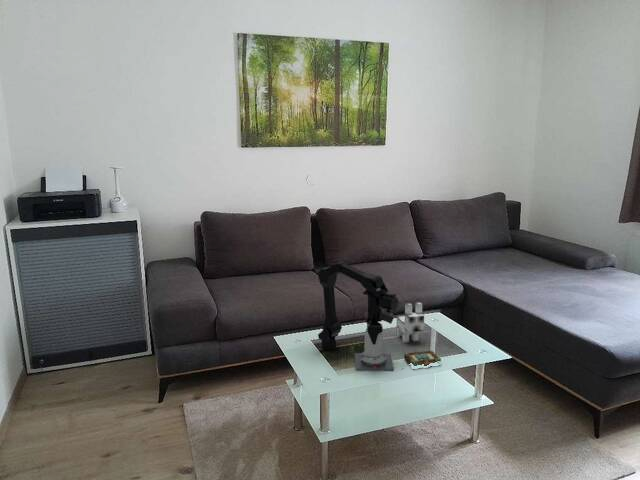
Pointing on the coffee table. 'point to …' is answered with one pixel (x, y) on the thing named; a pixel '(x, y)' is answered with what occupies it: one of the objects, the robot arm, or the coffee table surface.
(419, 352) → the decorative book
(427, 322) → the coffee table surface
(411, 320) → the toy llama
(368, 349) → the can
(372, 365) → the square metal dish
